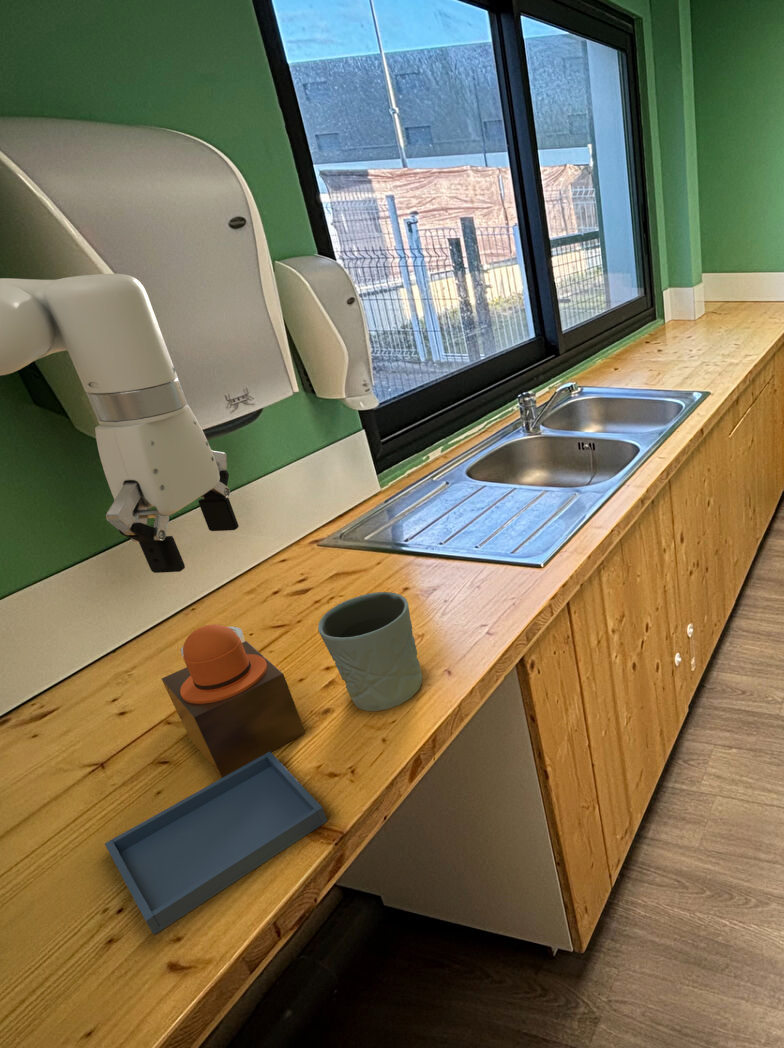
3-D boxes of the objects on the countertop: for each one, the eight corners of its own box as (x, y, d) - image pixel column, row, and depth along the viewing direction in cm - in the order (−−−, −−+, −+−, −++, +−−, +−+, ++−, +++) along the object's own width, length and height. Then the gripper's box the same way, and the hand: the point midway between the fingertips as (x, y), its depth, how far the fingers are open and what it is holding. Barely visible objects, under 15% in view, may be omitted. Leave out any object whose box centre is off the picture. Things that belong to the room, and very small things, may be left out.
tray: (154, 935, 62) (145, 920, 61) (112, 857, 70) (104, 843, 69) (328, 821, 72) (322, 807, 72) (275, 764, 80) (269, 751, 79)
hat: (196, 714, 75) (171, 661, 72) (170, 684, 80) (146, 633, 77) (279, 673, 81) (260, 623, 78) (250, 648, 86) (231, 599, 83)
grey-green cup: (442, 669, 95) (423, 594, 90) (398, 721, 86) (374, 640, 81) (376, 663, 97) (353, 589, 92) (326, 713, 88) (298, 634, 83)
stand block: (222, 779, 78) (194, 717, 74) (189, 737, 85) (161, 678, 81) (305, 733, 85) (283, 673, 81) (268, 697, 91) (246, 640, 87)
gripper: (160, 381, 79) (212, 517, 86) (30, 430, 63) (106, 591, 71) (227, 379, 79) (273, 514, 87) (114, 426, 64) (181, 587, 71)
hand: (198, 549), depth 79 cm, fingers open, 9 cm apart
